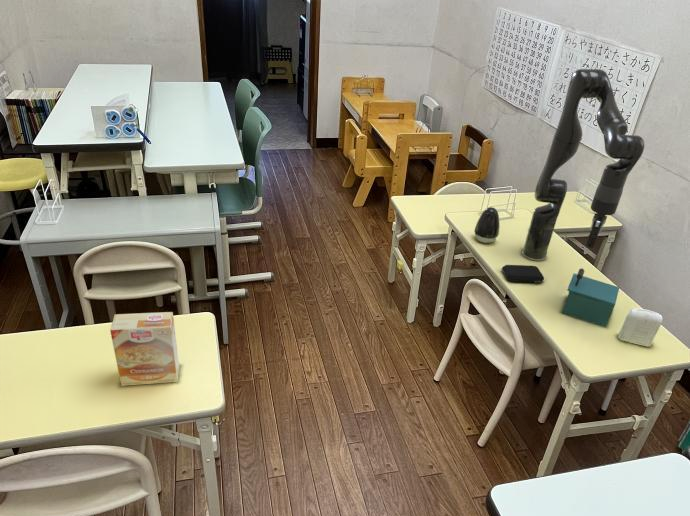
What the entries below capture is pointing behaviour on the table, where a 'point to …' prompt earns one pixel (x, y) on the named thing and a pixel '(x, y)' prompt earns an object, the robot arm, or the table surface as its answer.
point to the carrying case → (522, 273)
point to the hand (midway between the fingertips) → (591, 242)
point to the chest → (588, 309)
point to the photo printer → (640, 327)
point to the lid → (593, 288)
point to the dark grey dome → (487, 226)
